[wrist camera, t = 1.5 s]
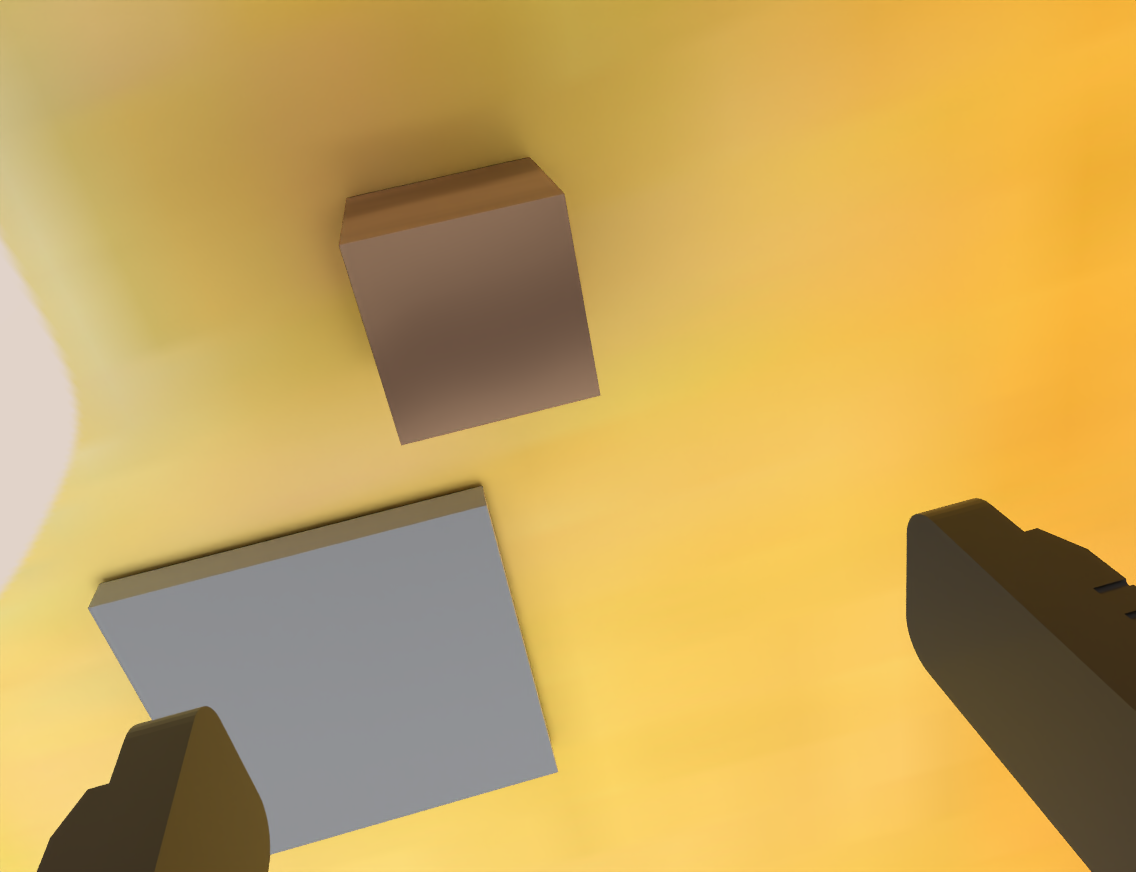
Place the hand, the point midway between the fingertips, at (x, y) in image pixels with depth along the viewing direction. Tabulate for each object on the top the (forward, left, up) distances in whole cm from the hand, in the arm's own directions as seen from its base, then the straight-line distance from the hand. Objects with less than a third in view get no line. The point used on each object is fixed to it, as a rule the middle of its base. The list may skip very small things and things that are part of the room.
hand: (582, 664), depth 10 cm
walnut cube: (0, 0, -17) cm, 17 cm away
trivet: (+13, -7, -16) cm, 22 cm away
